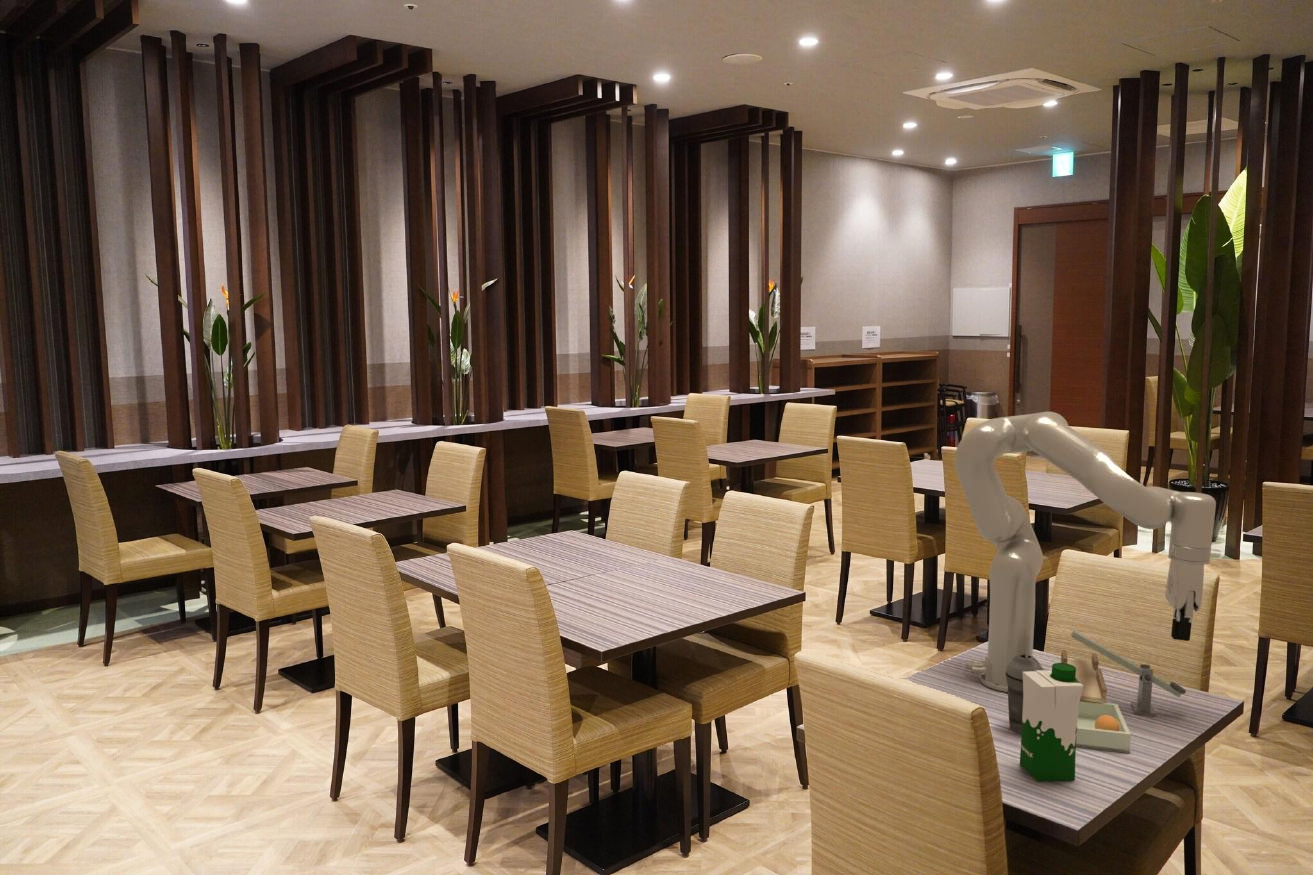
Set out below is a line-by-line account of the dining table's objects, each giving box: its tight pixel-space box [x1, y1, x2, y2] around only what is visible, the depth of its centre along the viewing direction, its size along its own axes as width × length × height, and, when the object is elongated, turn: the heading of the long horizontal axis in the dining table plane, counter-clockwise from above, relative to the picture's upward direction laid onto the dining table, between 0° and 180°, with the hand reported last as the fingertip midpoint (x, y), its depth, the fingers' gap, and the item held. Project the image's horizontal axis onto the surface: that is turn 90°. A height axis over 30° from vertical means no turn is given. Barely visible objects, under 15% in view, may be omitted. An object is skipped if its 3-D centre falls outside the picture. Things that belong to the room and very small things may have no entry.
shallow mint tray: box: [1076, 700, 1132, 754], centre depth 196 cm, size 12×15×4 cm
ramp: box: [1060, 650, 1108, 703], centre depth 209 cm, size 7×16×10 cm, turn 164°
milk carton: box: [1019, 662, 1084, 783], centre depth 178 cm, size 9×9×20 cm
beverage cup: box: [1005, 636, 1044, 736], centre depth 196 cm, size 7×7×20 cm
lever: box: [1070, 630, 1187, 698], centre depth 208 cm, size 25×3×2 cm, turn 74°
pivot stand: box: [1130, 663, 1157, 718], centre depth 207 cm, size 4×5×10 cm
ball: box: [1095, 715, 1119, 731], centre depth 193 cm, size 4×4×4 cm
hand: (1180, 638), depth 204 cm, fingers closed
